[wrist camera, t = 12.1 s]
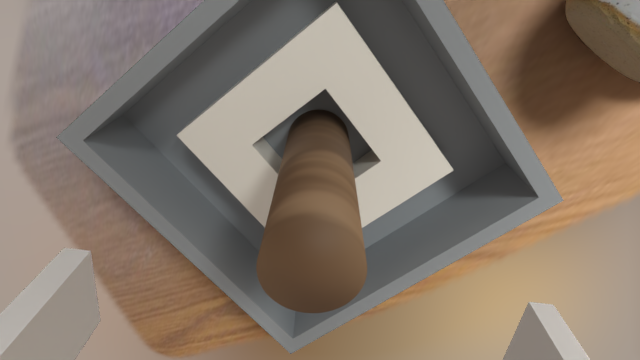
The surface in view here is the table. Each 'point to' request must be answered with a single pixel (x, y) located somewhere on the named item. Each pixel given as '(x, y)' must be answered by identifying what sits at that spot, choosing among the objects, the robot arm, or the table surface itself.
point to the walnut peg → (314, 221)
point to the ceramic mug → (609, 31)
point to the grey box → (273, 128)
